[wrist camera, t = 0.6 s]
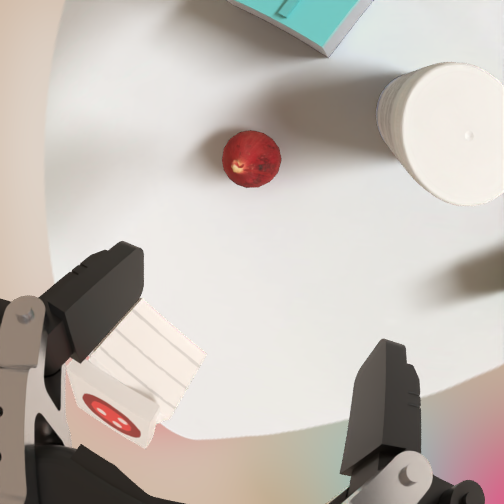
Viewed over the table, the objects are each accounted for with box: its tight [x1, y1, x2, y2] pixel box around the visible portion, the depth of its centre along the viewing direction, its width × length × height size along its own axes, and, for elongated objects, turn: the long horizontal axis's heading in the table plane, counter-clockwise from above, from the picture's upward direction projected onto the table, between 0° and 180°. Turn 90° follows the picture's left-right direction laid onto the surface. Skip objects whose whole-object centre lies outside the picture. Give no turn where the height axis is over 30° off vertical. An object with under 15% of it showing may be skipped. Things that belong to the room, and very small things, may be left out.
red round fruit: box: [222, 130, 281, 188], centre depth 31 cm, size 6×6×8 cm
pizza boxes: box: [66, 298, 207, 449], centre depth 52 cm, size 19×30×18 cm, turn 140°
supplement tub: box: [376, 62, 504, 206], centre depth 21 cm, size 10×10×15 cm
